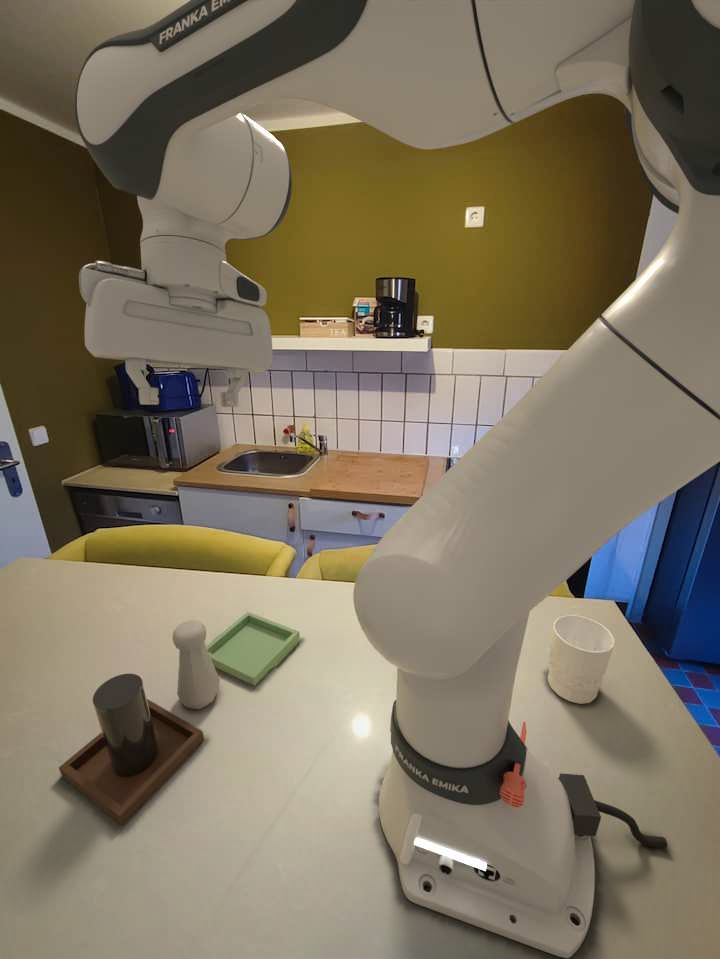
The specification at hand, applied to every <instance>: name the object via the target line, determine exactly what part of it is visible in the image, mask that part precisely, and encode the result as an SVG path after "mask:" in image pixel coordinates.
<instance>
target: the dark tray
mask: <svg viewBox="0 0 720 959" xmlns="http://www.w3.org/2000/svg"><path fill="white" fill-rule="evenodd" d="M147 702H148V707H149V711H150V715H151V719H152V723H153V728H154V732H155V736H156V740H157V744H158V753H157V756H156V758H155V760H154V761H153V763H152V764H151V765H150V766H149V767H148V768H147V769H145V770H144V771H143V772H141V773H139V774H137V775H135V776H131V777H120V776H118V775H116V774H115V773H114V771H113V769H112V765H111V762H110V759H109V755H108V752H107V748H106V745H105V742H104V738H103V735H102V732H100V733H99V734H98V735H96V736H95V737H94V738H93V739H92V740H90V741H89V742H88V743H87V744H85V745H84V746H83V747H82V748H80V749H79V750H78V751H77V752H76V753H74V754H73V755H72V756H71V757H69V758H68V759H67V760H66V761H65V762H63V763H62V764H61V765H60V766H59V767H58V770H59V774H60V775H61V777H62V778H63V779H64V780H65V781H66V782H67V783H69V784H70V785H72V787H74V788H75V789H76V790H77V791H79V792H80V793H82V795H83V796H84V797H86V798H88V800H90V801H91V802H92V803H93V804H95V805H96V806H97V807H99V808H100V809H101V810H102V811H104V812H105V813H106V814H107V815H108V816H110V817H111V818H112V819H113V820H114V821H116V822H117V823H118V824H119V825H120V826H124V825H125V824H126V823H127V822H128V821H129V819H131V818H132V816H134V814H135V813H137V811H138V810H139V809H140V808H141V807H142V806H143V805H144V804H145V803H146V802H147V801H148V800H149V799H150V798H151V797H152V795H154V793H155V792H156V791H157V790H159V788H160V787H161V786H162V785H163V784H164V783H165V782H166V781H167V779H169V778H170V776H171V775H172V774H173V773H174V772H175V771H176V770H177V769H178V768H179V767H180V766H181V765H182V764H183V763H184V762H185V761H186V759H187V758H189V756H190V755H191V754H192V753H193V752H194V751H195V750H196V749H197V748H198V747H199V746H200V745H201V744H202V743H203V742H204V740H205V737H204V732H203V730H202V729H200V728H198V727H196V726H194V725H193V724H192V723H189V722H188V721H186V720H184V719H182V718H181V717H180V716H177V715H175V714H174V713H173V712H170V711H169V710H167V709H165V708H163V707H162V706H161V705H159V704H157V703H155V702H153V701H152V700H150V699H148V698H147Z"/></svg>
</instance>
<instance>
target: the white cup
mask: <svg viewBox="0 0 720 959" xmlns="http://www.w3.org/2000/svg"><path fill="white" fill-rule="evenodd" d="M615 643H616V642H615V637H614V636H613V633H612V632H611V631H610V630H609V629H608V628H607V627H605V626H604V625H603V624H601V623H600V622H599V621H596V620H594V619H591V618H588V617H586V616H582V615H578V614H566V615H561V616H559V617H557V618H556V619H555V620H554V621H553V624H552V633H551V641H550V648H549V656H548V657H549V658H548V665H549V666H548V674H547V682H548V684H549V686H550V688H551V689H552V691H553V692H554V693H556V695H557V696H559V697H560V698H562V699H564V700H566V701H568V702H570V703H574V704H580V705H582V704H583V705H584V704H590V703H592V702H593V701H594V700H595V699H597V696H598V693H599V689H600V686H601V685H602V683H603V681H604V677H605V674H606V671H607V670H608V669H607V668H608V666H609V662H610V660H611V656H612V652H613V649H614V647H615Z"/></svg>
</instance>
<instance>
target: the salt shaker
mask: <svg viewBox="0 0 720 959" xmlns="http://www.w3.org/2000/svg"><path fill="white" fill-rule="evenodd" d="M206 639H207V628H206V626H205V624H204V623H203V622H201V621H199V620H197V619H195V620H193V619H190V620H187V621H184V622H181V623H180V624H178V626H177V627H176V628H175V629H174V630H173V633H172V642H173V645H174V647H175V648H176V649H177V650H179V652H178V674H177V688H176V689H177V691H176V695H177V697H178V700H179V701H180V703H181V704H182V705H183V706H184V707H185V708H189V709H192V710H201V709H203V708H205V707H207V706H209V705H210V704H212V703H214V700H215V698H216V696H217V694H218V692H219V690H220V677H219V675H218V672H217V670H216V667H214V665H213V662H212V660H211V657H210V655H209V653H208V650H207V648H206V646H207V645H206V643H205V641H206Z"/></svg>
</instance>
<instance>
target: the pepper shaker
mask: <svg viewBox="0 0 720 959" xmlns="http://www.w3.org/2000/svg"><path fill="white" fill-rule="evenodd" d="M147 699H148V698H147V694H146V689H145V685H144V681H143V679H142V678H141V676H139V675H138V674H135V673H122V674H118V675H116V676H113V677H111V678H110V679H108V680H106V681H104V682H103V683H102V684H100V685H99V687H98V688H97V689H96V690H95V691H94V694H93V696H92V704H93V707H94V711H95V715H96V718H97V721H98V724H99V727H100V731H101V732H102V735H103V738H104V742H105V745H106V748H107V752H108V755H109V759H110V762H111V765H112V769H113V771H114V773H115V774H116V775H118V776H120V777H131V776H135V775H137V774H139V773H141V772H143V771H144V770H145V769H147V768H148V767H149V766H150V765H151V764H152V763H153V761H154V760H155V758H156V756H157V753H158V744H157V740H156V736H155V732H154V728H153V723H152V719H151V715H150V711H149V707H148V702H147ZM101 732H100V733H101Z"/></svg>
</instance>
